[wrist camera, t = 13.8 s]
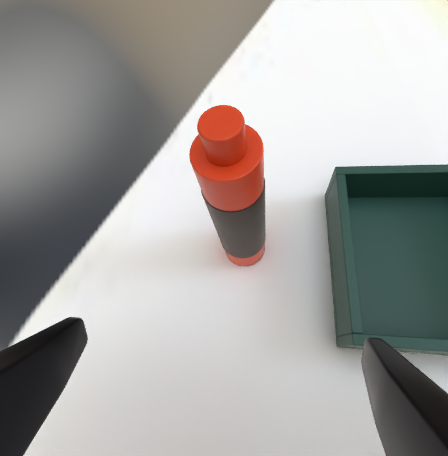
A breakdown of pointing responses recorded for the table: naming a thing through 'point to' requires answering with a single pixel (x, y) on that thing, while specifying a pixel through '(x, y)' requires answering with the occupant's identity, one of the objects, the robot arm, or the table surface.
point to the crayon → (232, 181)
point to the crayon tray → (390, 256)
